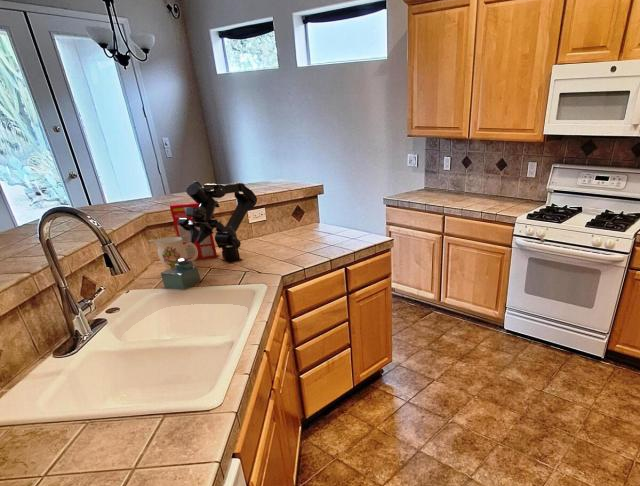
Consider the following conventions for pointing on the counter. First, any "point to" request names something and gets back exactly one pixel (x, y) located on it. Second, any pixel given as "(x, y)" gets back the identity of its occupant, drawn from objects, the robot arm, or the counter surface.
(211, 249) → the food packaging
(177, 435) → the counter surface
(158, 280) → the counter surface
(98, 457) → the counter surface
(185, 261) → the lid button
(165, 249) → the pitcher
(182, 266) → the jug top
